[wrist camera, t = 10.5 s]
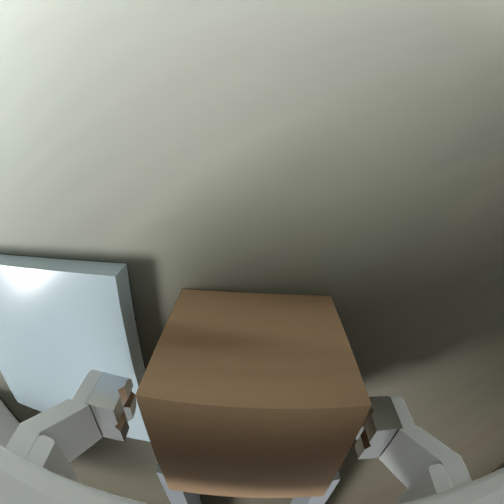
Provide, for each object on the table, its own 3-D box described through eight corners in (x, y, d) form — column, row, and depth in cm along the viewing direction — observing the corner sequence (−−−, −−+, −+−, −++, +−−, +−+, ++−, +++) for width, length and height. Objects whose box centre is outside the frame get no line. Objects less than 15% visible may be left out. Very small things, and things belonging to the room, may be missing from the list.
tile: (160, 427, 13) (155, 442, 12) (25, 391, 13) (17, 402, 12) (126, 263, 10) (115, 276, 9) (-28, 251, 10) (-41, 259, 9)
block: (308, 394, 12) (323, 495, 7) (191, 389, 12) (169, 489, 8) (330, 294, 10) (371, 404, 6) (182, 287, 10) (135, 395, 6)
